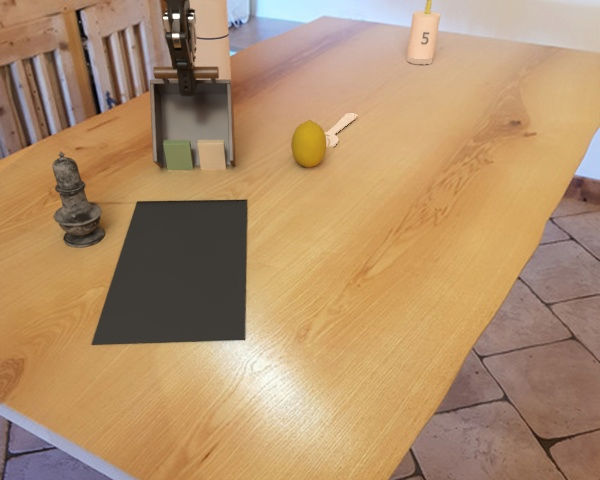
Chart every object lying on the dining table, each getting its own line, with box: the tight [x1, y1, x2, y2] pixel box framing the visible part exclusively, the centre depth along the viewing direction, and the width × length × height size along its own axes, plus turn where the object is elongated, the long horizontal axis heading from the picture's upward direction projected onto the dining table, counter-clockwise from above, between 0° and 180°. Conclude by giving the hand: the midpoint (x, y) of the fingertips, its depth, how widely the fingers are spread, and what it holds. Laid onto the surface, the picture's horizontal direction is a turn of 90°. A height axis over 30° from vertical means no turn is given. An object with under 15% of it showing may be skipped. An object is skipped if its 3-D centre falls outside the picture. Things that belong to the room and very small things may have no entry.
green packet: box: [163, 140, 195, 171], centre depth 85 cm, size 5×4×1 cm
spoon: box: [324, 112, 358, 149], centre depth 100 cm, size 5×18×1 cm, turn 152°
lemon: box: [290, 119, 327, 168], centre depth 86 cm, size 6×6×8 cm
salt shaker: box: [51, 151, 106, 248], centre depth 69 cm, size 6×6×12 cm
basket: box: [149, 66, 236, 168], centre depth 83 cm, size 12×12×11 cm
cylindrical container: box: [189, 0, 233, 85], centre depth 103 cm, size 7×7×25 cm
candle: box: [406, 0, 441, 59], centre depth 129 cm, size 6×6×15 cm
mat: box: [91, 199, 248, 346], centre depth 73 cm, size 40×16×1 cm, turn 4°
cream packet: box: [198, 140, 227, 171], centre depth 86 cm, size 5×4×1 cm
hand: (188, 92), depth 79 cm, fingers closed on basket
